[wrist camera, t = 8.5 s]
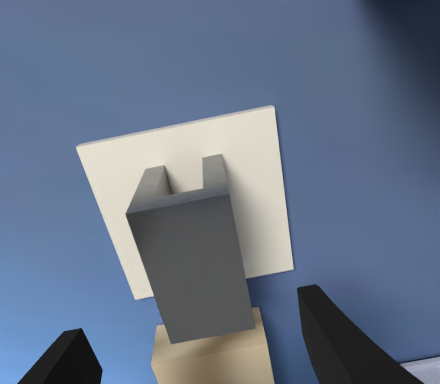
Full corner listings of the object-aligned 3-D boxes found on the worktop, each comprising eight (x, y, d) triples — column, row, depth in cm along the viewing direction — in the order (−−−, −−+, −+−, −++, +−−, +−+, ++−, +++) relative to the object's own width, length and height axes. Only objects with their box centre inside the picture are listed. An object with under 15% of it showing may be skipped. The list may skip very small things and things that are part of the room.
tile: (271, 104, 16) (274, 106, 16) (291, 263, 21) (293, 269, 20) (80, 144, 17) (76, 147, 16) (136, 293, 21) (135, 299, 20)
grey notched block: (221, 153, 17) (229, 193, 12) (242, 263, 20) (255, 328, 15) (145, 168, 17) (125, 214, 12) (177, 275, 20) (171, 344, 15)
